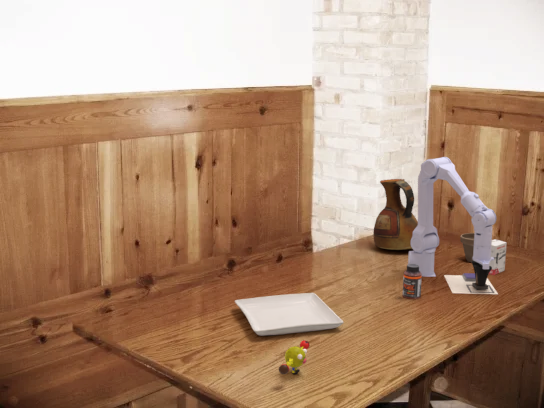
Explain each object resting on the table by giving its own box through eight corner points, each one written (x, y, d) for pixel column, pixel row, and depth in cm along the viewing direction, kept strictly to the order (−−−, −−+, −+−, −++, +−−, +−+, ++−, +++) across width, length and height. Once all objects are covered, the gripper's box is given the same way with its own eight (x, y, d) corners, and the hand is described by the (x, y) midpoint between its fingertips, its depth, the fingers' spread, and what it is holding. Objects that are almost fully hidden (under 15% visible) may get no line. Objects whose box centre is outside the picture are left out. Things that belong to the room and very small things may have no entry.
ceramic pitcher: (393, 240, 300) (395, 173, 294) (430, 249, 285) (433, 179, 279) (363, 248, 287) (364, 178, 281) (400, 258, 272) (402, 184, 266)
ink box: (493, 276, 248) (495, 245, 246) (481, 273, 251) (483, 243, 249) (505, 271, 254) (507, 241, 251) (493, 269, 257) (494, 238, 255)
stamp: (476, 289, 231) (477, 275, 230) (472, 285, 235) (473, 271, 233) (488, 289, 231) (488, 274, 230) (483, 285, 235) (484, 271, 234)
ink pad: (465, 281, 241) (465, 277, 241) (462, 276, 247) (462, 272, 247) (485, 281, 240) (485, 278, 240) (482, 276, 246) (482, 273, 246)
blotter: (452, 294, 229) (452, 292, 229) (443, 276, 249) (443, 274, 248) (498, 295, 228) (498, 293, 227) (485, 277, 247) (485, 275, 247)
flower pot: (453, 257, 272) (454, 233, 270) (478, 255, 276) (479, 231, 274) (469, 265, 261) (471, 240, 259) (495, 263, 265) (496, 238, 263)
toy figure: (293, 389, 163) (293, 363, 162) (272, 385, 165) (272, 359, 164) (317, 359, 180) (317, 335, 178) (297, 356, 182) (297, 332, 180)
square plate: (254, 343, 192) (254, 330, 191) (233, 310, 217) (233, 298, 217) (344, 332, 199) (344, 320, 198) (314, 301, 224) (314, 290, 224)
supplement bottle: (400, 299, 225) (401, 266, 223) (405, 293, 230) (406, 261, 228) (417, 301, 223) (419, 268, 220) (422, 296, 228) (424, 263, 225)
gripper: (499, 251, 222) (497, 290, 225) (490, 239, 236) (487, 277, 239) (477, 250, 223) (475, 290, 226) (469, 239, 237) (467, 276, 240)
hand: (480, 283), depth 232 cm, fingers closed on stamp, 3 cm apart
